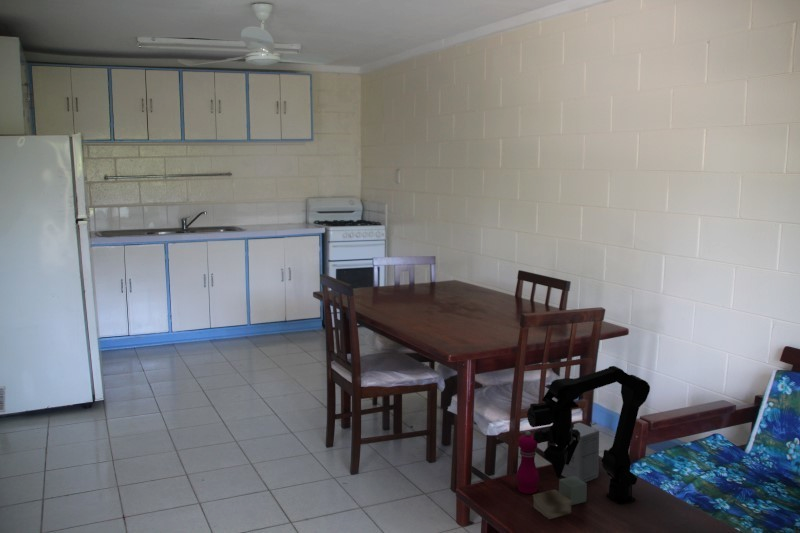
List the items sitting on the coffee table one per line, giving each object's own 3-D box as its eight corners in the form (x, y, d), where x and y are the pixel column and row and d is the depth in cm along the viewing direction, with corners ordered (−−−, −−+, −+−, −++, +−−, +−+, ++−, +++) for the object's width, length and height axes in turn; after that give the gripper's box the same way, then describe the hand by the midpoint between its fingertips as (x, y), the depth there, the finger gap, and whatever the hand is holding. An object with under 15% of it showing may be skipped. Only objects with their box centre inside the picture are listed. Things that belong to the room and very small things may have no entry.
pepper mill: (543, 490, 217) (544, 431, 215) (527, 497, 213) (528, 437, 211) (527, 482, 223) (528, 425, 220) (511, 488, 219) (511, 430, 216)
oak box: (555, 501, 210) (555, 489, 210) (571, 513, 203) (572, 501, 202) (532, 507, 207) (532, 494, 206) (548, 519, 199) (549, 507, 199)
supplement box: (578, 467, 233) (579, 421, 231) (599, 477, 226) (600, 430, 223) (558, 474, 228) (559, 427, 226) (579, 485, 221) (580, 436, 218)
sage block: (574, 493, 215) (574, 475, 215) (586, 501, 210) (586, 483, 209) (558, 497, 213) (559, 479, 212) (570, 505, 208) (571, 487, 207)
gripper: (545, 407, 214) (546, 454, 217) (526, 429, 198) (527, 478, 201) (580, 412, 209) (580, 460, 211) (563, 435, 193) (564, 485, 195)
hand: (562, 470), depth 205 cm, fingers open, 9 cm apart
